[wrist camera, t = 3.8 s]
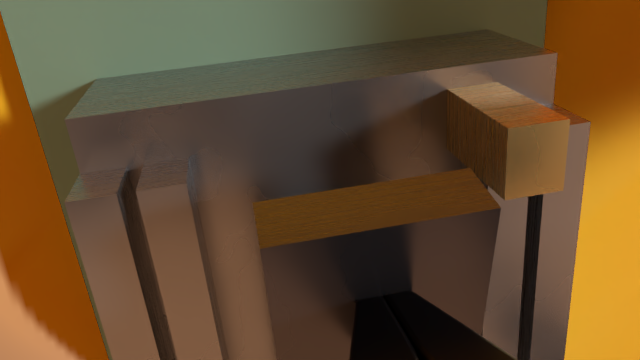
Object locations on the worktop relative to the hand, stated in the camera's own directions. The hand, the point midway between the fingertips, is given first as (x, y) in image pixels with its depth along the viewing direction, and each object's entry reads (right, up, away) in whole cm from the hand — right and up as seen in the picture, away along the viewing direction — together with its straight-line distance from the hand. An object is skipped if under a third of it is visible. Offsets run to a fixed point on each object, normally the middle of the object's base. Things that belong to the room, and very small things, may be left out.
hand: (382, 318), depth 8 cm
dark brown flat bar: (0, -4, +4) cm, 5 cm away
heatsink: (-1, -2, +8) cm, 8 cm away
